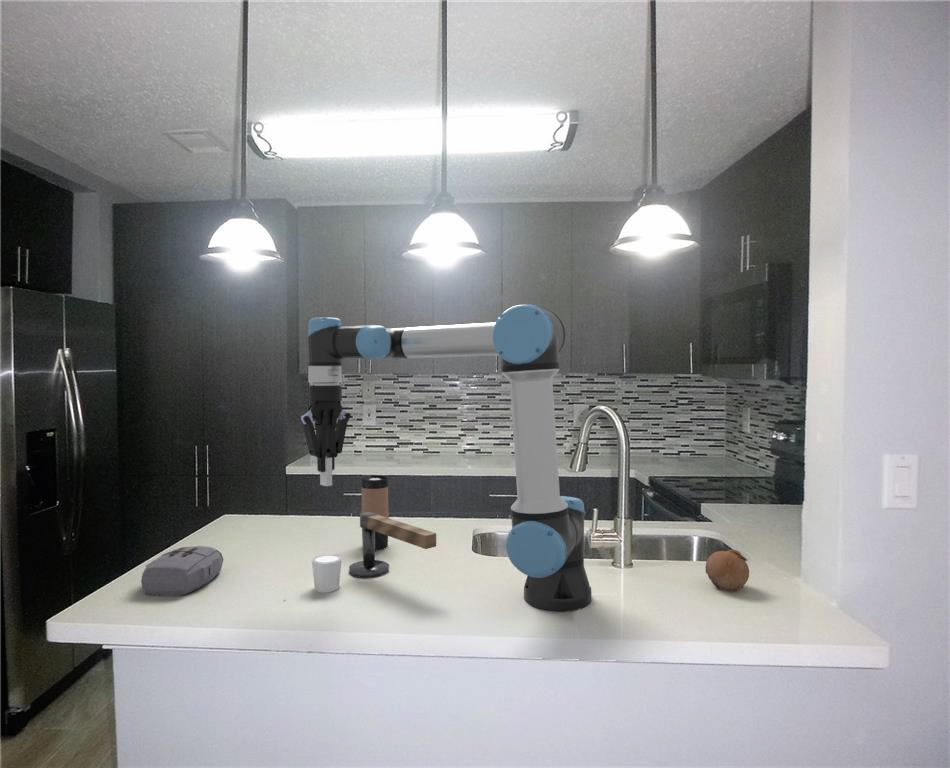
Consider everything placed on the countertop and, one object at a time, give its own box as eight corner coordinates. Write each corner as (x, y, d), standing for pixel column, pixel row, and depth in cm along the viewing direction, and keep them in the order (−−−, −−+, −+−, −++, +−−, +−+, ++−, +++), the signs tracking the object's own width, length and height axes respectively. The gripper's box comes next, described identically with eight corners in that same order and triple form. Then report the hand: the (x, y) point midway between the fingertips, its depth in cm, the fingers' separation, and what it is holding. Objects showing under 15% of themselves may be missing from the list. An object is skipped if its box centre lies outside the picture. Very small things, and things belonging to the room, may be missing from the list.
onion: (737, 597, 147) (754, 559, 148) (740, 601, 139) (758, 560, 140) (698, 578, 151) (715, 540, 152) (698, 579, 143) (716, 540, 143)
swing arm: (356, 526, 157) (356, 514, 157) (371, 522, 160) (371, 511, 160) (423, 549, 137) (423, 536, 137) (438, 545, 140) (438, 532, 140)
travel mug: (386, 550, 174) (385, 480, 173) (359, 550, 174) (358, 480, 173) (390, 543, 182) (390, 475, 181) (364, 542, 182) (364, 475, 181)
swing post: (397, 570, 158) (396, 527, 157) (365, 580, 150) (365, 535, 150) (372, 561, 164) (372, 520, 164) (341, 571, 157) (340, 528, 157)
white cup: (305, 590, 144) (305, 560, 144) (325, 580, 150) (325, 552, 150) (328, 595, 141) (328, 565, 141) (348, 585, 147) (347, 556, 147)
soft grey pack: (194, 598, 139) (235, 569, 159) (193, 562, 139) (235, 537, 159) (130, 596, 141) (179, 567, 161) (129, 560, 140) (178, 535, 160)
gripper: (310, 385, 137) (311, 491, 137) (357, 384, 146) (358, 483, 147) (291, 384, 142) (292, 487, 142) (339, 383, 151) (339, 479, 152)
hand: (326, 484), depth 145 cm, fingers closed
